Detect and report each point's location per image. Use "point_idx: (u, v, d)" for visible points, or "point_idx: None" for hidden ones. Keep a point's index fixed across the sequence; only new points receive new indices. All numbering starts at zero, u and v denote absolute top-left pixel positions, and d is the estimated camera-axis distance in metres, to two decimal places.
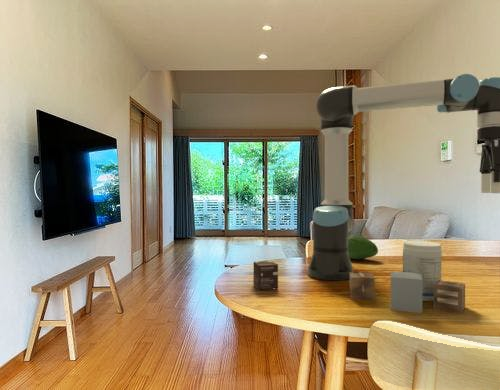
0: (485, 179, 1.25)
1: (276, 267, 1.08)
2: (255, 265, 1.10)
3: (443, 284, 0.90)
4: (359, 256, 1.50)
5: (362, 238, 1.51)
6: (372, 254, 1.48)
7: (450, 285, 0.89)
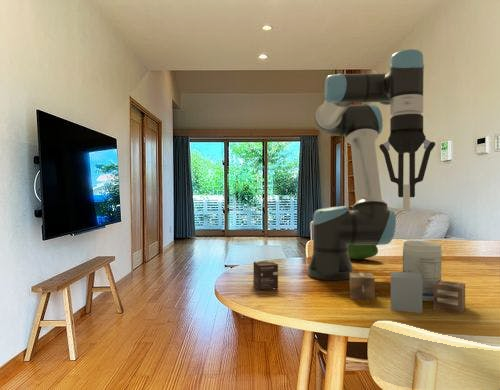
0: None
1: (276, 267, 1.08)
2: (255, 265, 1.10)
3: (443, 284, 0.90)
4: (359, 256, 1.50)
5: None
6: (372, 254, 1.48)
7: (450, 285, 0.89)
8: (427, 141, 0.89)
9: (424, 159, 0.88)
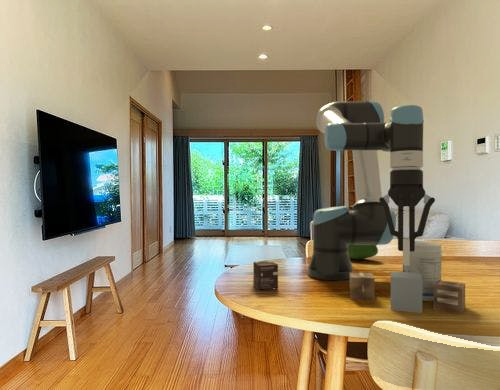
0: None
1: (276, 267, 1.08)
2: (255, 265, 1.10)
3: (443, 284, 0.90)
4: (359, 256, 1.50)
5: None
6: (372, 254, 1.48)
7: (450, 285, 0.89)
8: (427, 196, 0.89)
9: (424, 214, 0.88)
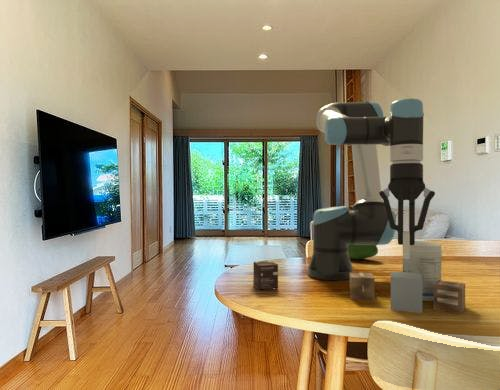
0: None
1: (276, 267, 1.08)
2: (255, 265, 1.10)
3: (443, 284, 0.90)
4: (359, 256, 1.50)
5: None
6: (372, 254, 1.48)
7: (450, 285, 0.89)
8: (427, 190, 0.89)
9: (424, 208, 0.88)
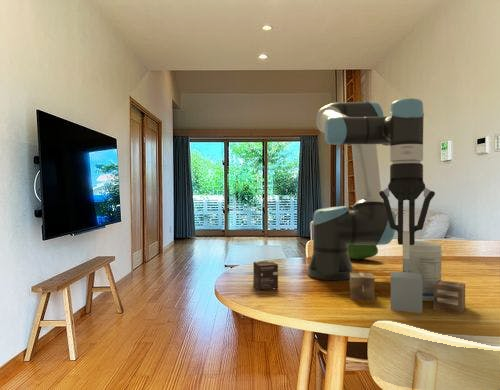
0: None
1: (276, 267, 1.08)
2: (255, 265, 1.10)
3: (443, 284, 0.90)
4: (359, 256, 1.50)
5: None
6: (372, 254, 1.48)
7: (450, 285, 0.89)
8: (427, 190, 0.89)
9: (424, 208, 0.88)
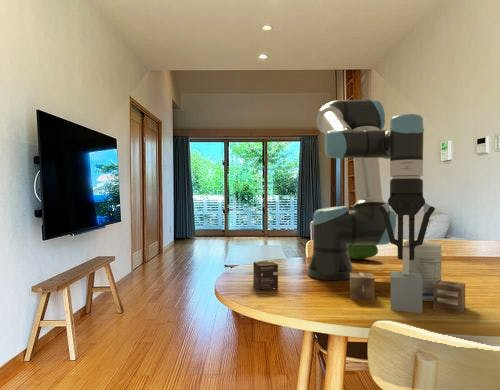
0: None
1: (276, 267, 1.08)
2: (255, 265, 1.10)
3: (443, 284, 0.90)
4: (359, 256, 1.50)
5: None
6: (372, 254, 1.48)
7: (450, 285, 0.89)
8: (427, 205, 0.89)
9: (423, 223, 0.89)
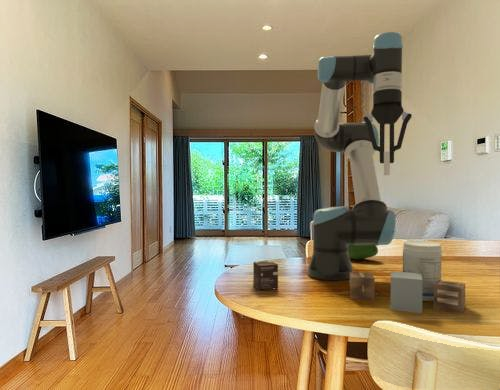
0: None
1: (276, 267, 1.08)
2: (255, 265, 1.10)
3: (443, 284, 0.90)
4: (359, 256, 1.50)
5: None
6: (372, 254, 1.48)
7: (450, 285, 0.89)
8: (405, 113, 1.01)
9: (402, 129, 1.01)
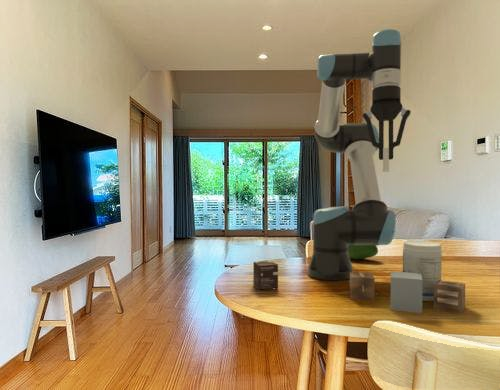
0: None
1: (276, 267, 1.08)
2: (255, 265, 1.10)
3: (443, 284, 0.90)
4: (359, 256, 1.50)
5: None
6: (372, 254, 1.48)
7: (450, 285, 0.89)
8: (404, 109, 1.02)
9: (401, 125, 1.01)
